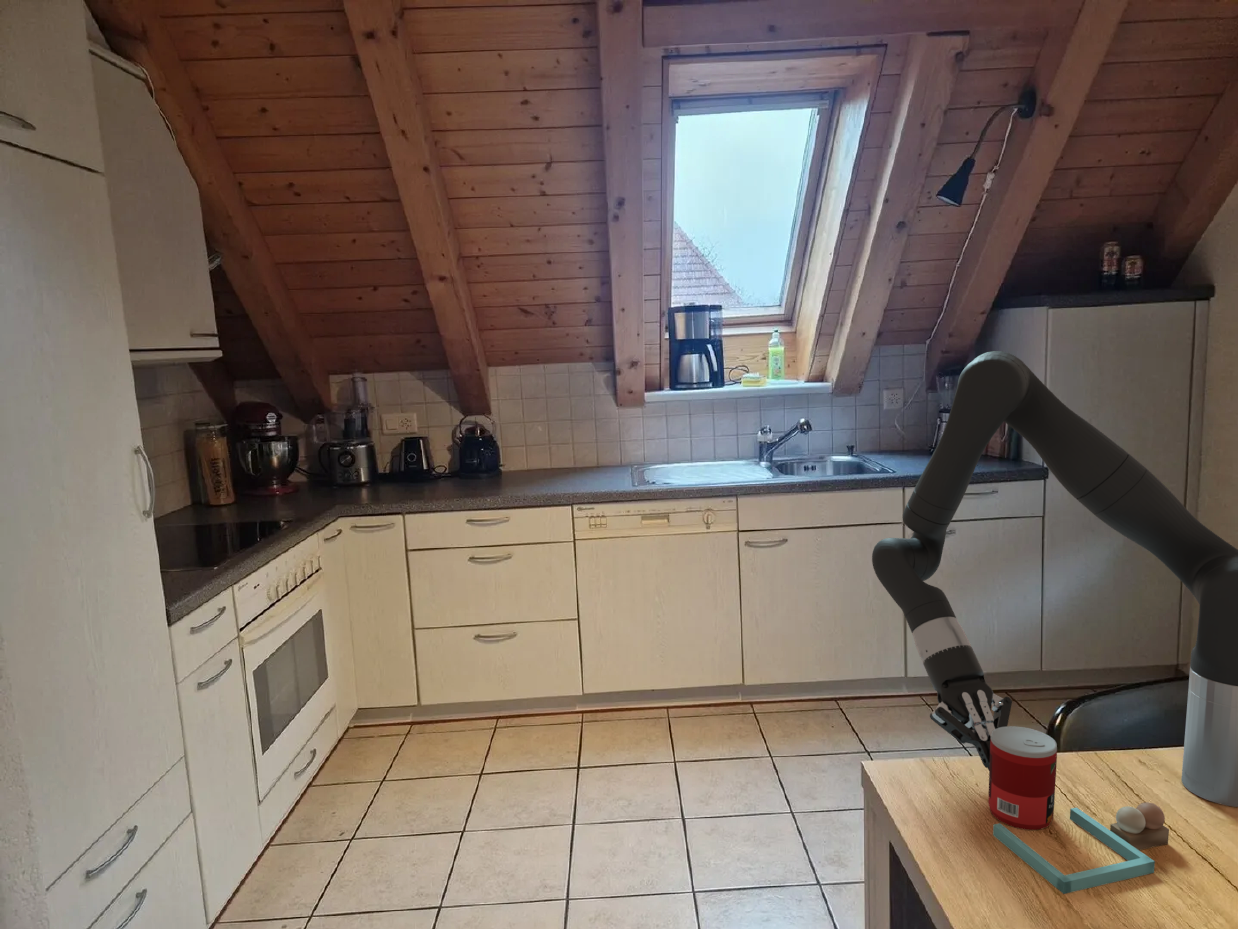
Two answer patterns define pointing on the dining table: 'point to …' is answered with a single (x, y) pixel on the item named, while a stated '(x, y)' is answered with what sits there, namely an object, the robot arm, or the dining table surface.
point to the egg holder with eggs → (1141, 826)
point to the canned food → (1022, 777)
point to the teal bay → (1089, 878)
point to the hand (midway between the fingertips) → (998, 769)
